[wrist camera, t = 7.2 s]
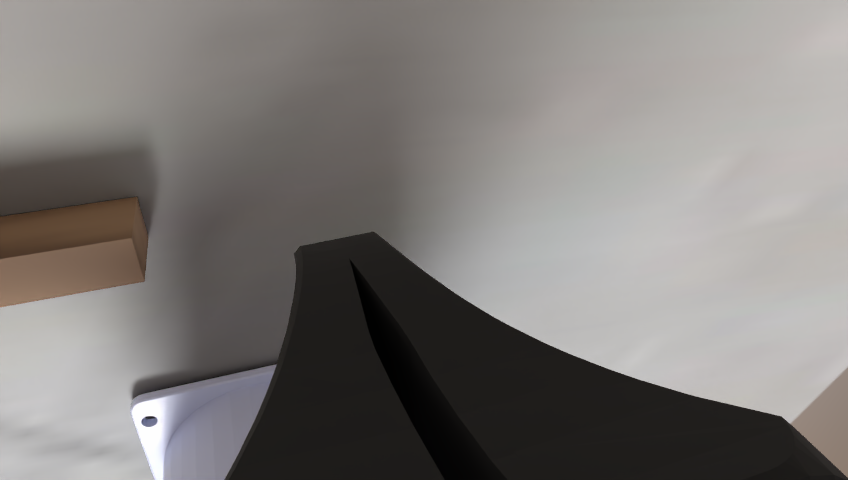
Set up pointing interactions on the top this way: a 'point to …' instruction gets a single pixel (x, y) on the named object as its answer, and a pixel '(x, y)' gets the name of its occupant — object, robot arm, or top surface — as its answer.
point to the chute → (71, 250)
